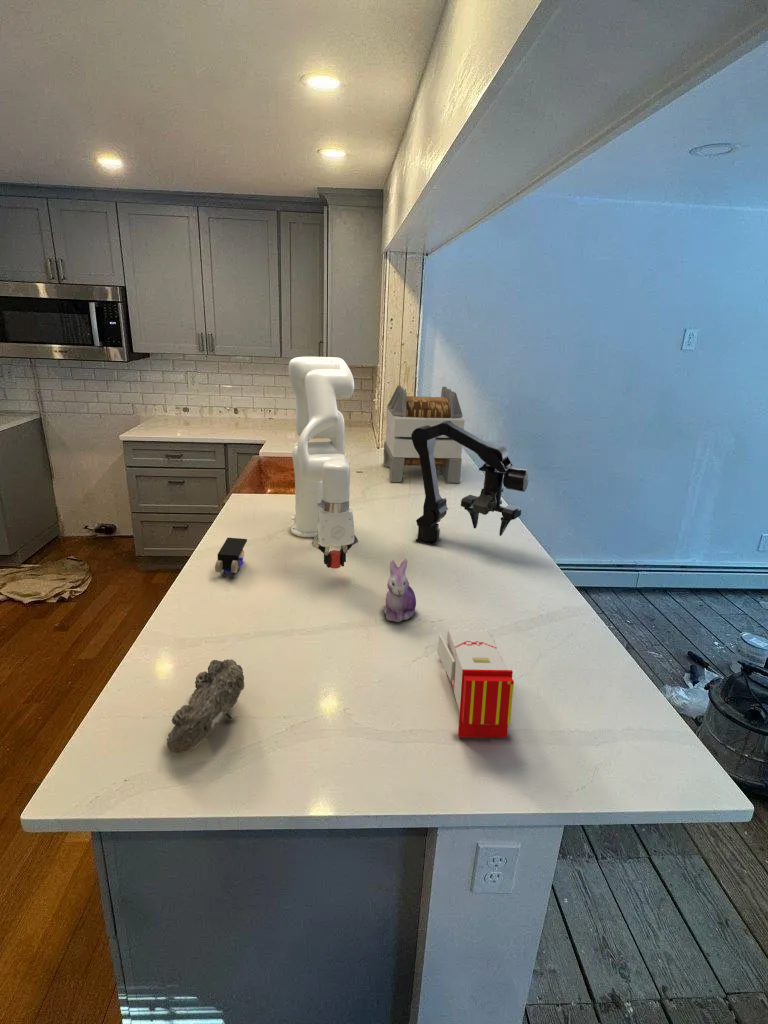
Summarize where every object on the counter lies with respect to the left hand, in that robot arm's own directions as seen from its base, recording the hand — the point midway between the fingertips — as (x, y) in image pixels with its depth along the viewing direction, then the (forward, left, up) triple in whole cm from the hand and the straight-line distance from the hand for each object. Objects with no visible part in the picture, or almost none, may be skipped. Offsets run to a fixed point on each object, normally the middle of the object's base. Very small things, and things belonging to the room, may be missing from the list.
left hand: (334, 564), depth 163 cm
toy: (+58, -11, -5) cm, 60 cm away
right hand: (+17, +49, +4) cm, 52 cm away
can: (0, 0, 0) cm, 0 cm away
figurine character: (-23, -20, -5) cm, 31 cm away
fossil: (+31, -55, -5) cm, 63 cm away
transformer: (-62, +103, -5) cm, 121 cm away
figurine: (+26, 0, -5) cm, 27 cm away
